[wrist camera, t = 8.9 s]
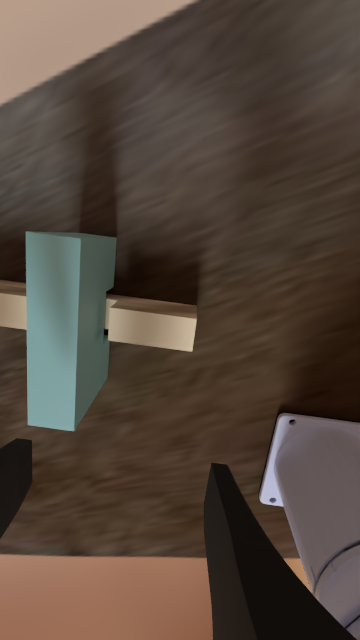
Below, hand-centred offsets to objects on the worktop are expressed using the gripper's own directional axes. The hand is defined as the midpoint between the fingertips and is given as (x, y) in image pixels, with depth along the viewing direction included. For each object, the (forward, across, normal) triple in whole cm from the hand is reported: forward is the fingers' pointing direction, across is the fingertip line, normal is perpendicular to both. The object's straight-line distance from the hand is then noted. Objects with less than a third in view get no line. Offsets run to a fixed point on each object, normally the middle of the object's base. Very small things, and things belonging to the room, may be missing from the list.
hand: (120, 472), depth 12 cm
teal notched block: (+10, +4, -4) cm, 12 cm away
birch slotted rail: (+10, +4, -4) cm, 12 cm away
